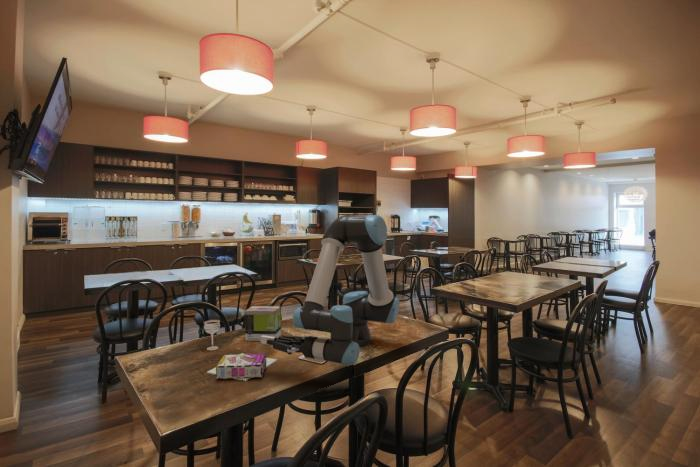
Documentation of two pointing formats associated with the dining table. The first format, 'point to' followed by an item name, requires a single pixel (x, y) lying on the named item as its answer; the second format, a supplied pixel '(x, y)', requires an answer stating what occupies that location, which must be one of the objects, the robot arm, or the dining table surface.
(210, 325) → the wineglass
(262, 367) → the candy bar box
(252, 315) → the tea box
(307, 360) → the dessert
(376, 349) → the dining table surface
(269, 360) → the mat
